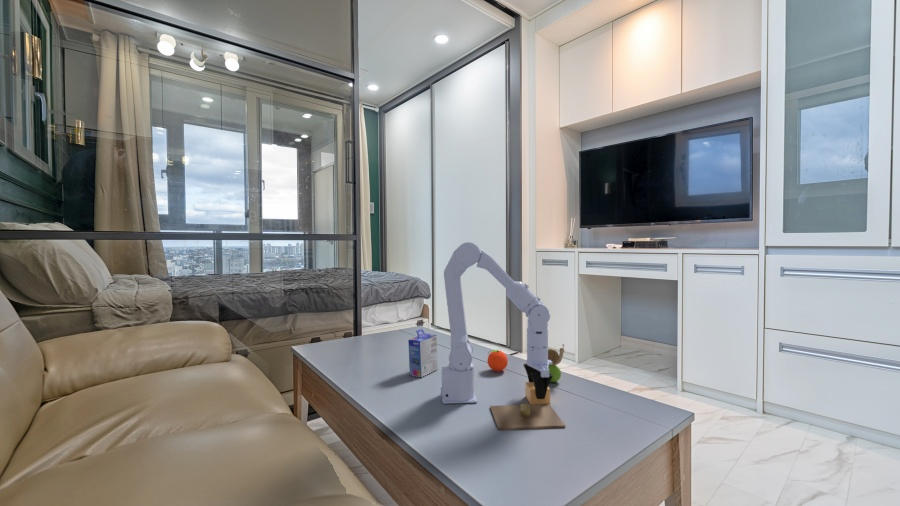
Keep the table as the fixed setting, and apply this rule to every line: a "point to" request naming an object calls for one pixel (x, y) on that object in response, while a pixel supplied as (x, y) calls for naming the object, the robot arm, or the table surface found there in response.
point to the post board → (526, 417)
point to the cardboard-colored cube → (531, 394)
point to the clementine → (497, 360)
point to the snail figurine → (555, 363)
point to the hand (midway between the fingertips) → (537, 394)
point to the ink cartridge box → (423, 354)
